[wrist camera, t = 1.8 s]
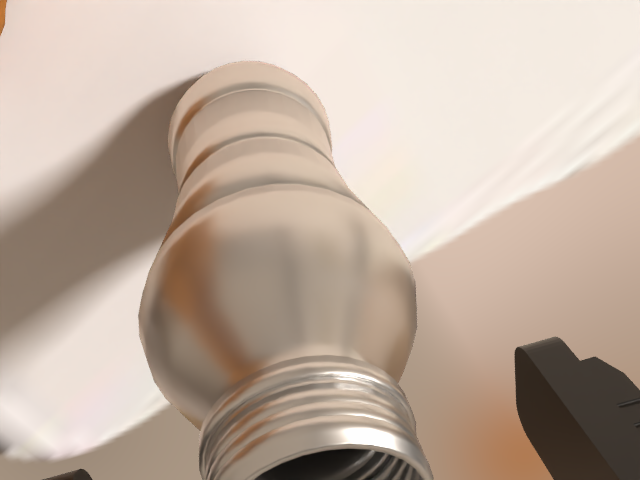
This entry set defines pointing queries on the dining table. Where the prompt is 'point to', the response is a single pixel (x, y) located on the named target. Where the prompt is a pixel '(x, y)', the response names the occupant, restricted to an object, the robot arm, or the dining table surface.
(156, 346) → the plastic bottle
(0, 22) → the coffee package
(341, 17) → the dining table surface
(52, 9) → the dining table surface
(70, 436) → the dining table surface
